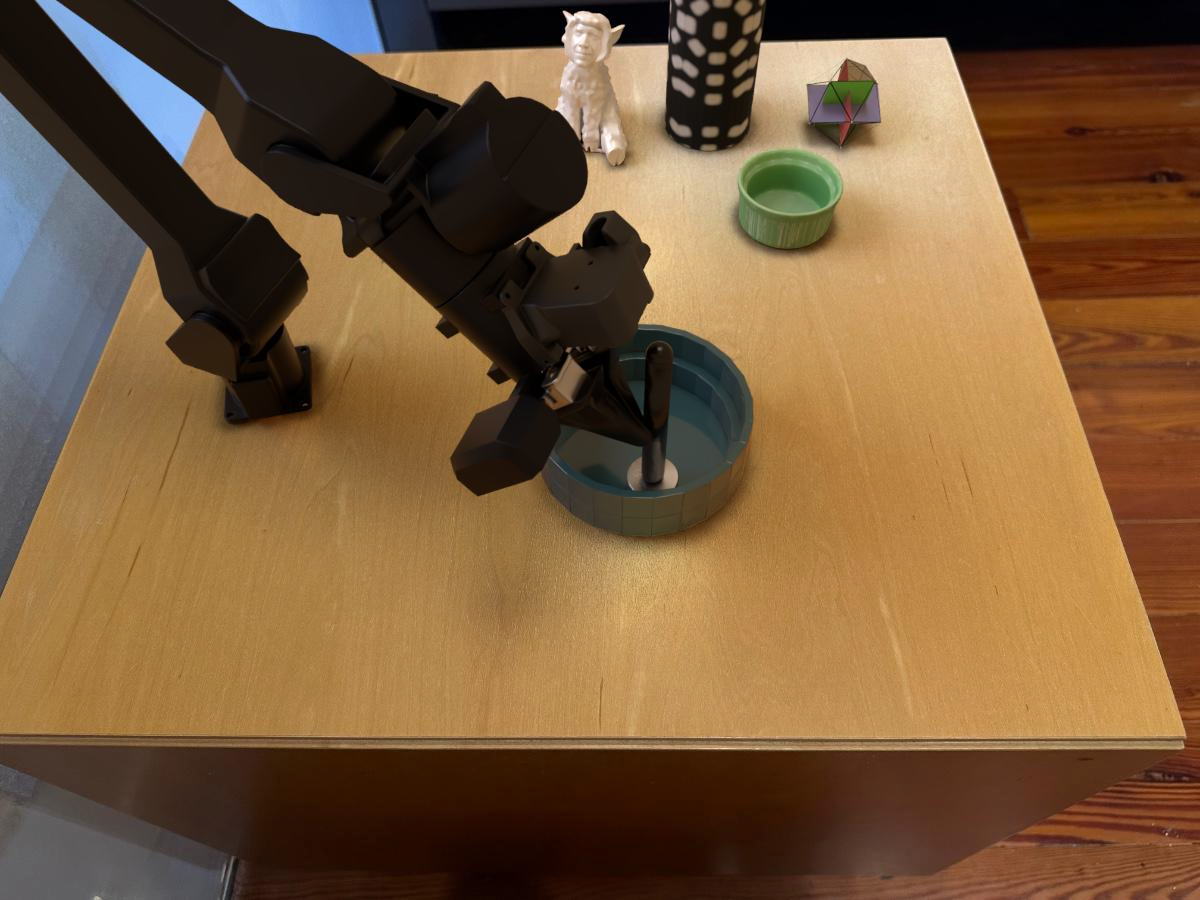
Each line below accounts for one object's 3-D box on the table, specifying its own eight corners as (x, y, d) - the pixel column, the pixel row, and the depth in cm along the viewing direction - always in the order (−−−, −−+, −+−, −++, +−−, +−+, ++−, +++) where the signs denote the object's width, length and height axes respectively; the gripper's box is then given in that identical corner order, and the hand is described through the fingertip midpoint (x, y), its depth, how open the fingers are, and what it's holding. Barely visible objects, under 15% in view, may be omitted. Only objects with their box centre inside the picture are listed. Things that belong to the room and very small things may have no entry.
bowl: (523, 389, 71) (517, 341, 67) (713, 358, 73) (719, 309, 68) (556, 558, 63) (552, 516, 58) (771, 519, 64) (782, 475, 60)
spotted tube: (752, 151, 88) (782, -66, 71) (665, 151, 88) (675, -65, 72) (746, 99, 92) (773, -115, 76) (663, 99, 93) (673, -115, 76)
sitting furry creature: (526, 155, 88) (515, 37, 78) (549, 103, 93) (541, -15, 83) (623, 168, 86) (624, 49, 77) (641, 114, 91) (644, -4, 81)
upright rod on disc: (622, 469, 65) (623, 326, 53) (671, 462, 66) (684, 318, 53) (631, 512, 63) (634, 373, 51) (682, 504, 63) (697, 364, 51)
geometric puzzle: (887, 147, 84) (895, 53, 82) (812, 148, 84) (818, 53, 82) (866, 148, 91) (873, 61, 89) (797, 148, 91) (802, 61, 89)
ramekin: (774, 174, 86) (781, 134, 82) (854, 218, 82) (865, 178, 78) (712, 221, 82) (716, 181, 78) (792, 270, 78) (801, 230, 75)
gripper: (477, 342, 40) (697, 545, 47) (622, 108, 51) (785, 302, 57) (359, 405, 48) (560, 571, 55) (504, 192, 59) (659, 354, 65)
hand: (647, 443), depth 58 cm, fingers closed
